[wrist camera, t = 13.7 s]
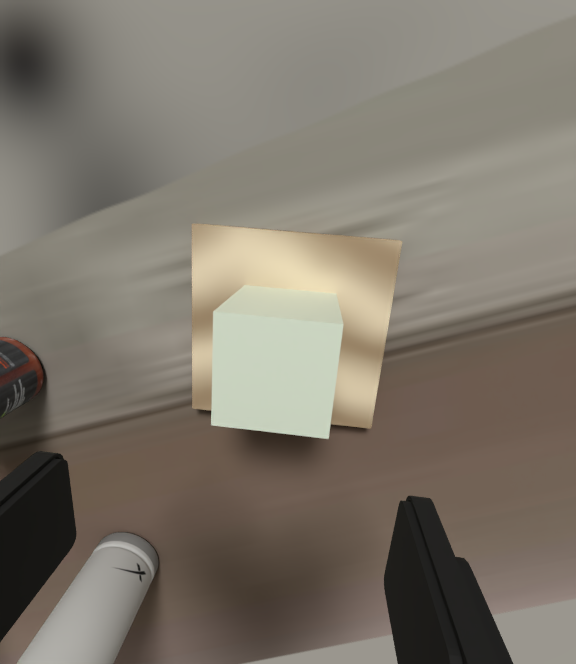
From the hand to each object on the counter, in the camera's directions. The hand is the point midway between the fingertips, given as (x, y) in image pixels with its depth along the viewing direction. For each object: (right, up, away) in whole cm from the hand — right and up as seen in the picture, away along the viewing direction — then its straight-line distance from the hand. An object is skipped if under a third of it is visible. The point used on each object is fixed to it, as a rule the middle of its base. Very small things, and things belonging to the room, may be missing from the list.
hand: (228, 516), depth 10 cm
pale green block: (+2, +5, +16) cm, 17 cm away
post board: (+2, +6, +17) cm, 18 cm away
